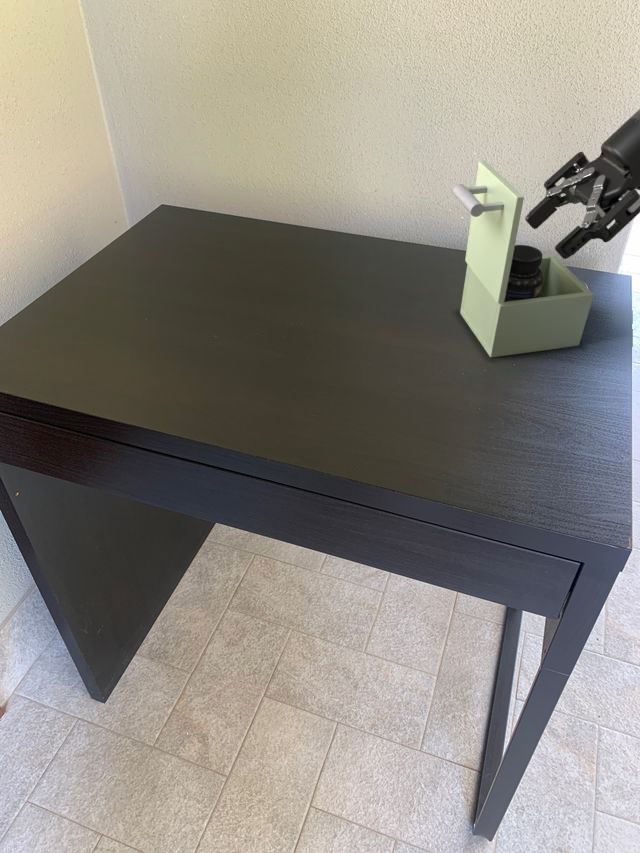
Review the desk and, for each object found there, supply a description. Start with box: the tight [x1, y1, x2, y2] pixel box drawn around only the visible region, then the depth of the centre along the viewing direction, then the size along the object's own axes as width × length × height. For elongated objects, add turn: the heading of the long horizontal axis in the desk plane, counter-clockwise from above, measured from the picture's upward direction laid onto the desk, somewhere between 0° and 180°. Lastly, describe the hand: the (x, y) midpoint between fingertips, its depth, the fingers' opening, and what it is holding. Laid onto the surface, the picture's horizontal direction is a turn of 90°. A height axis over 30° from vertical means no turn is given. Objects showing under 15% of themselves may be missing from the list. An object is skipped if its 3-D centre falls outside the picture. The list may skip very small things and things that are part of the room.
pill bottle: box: [504, 244, 543, 302], centre depth 91 cm, size 6×6×11 cm
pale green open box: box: [459, 253, 595, 358], centre depth 93 cm, size 13×11×8 cm
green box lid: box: [452, 160, 525, 303], centre depth 85 cm, size 14×11×5 cm
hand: (543, 238), depth 87 cm, fingers open, 8 cm apart
